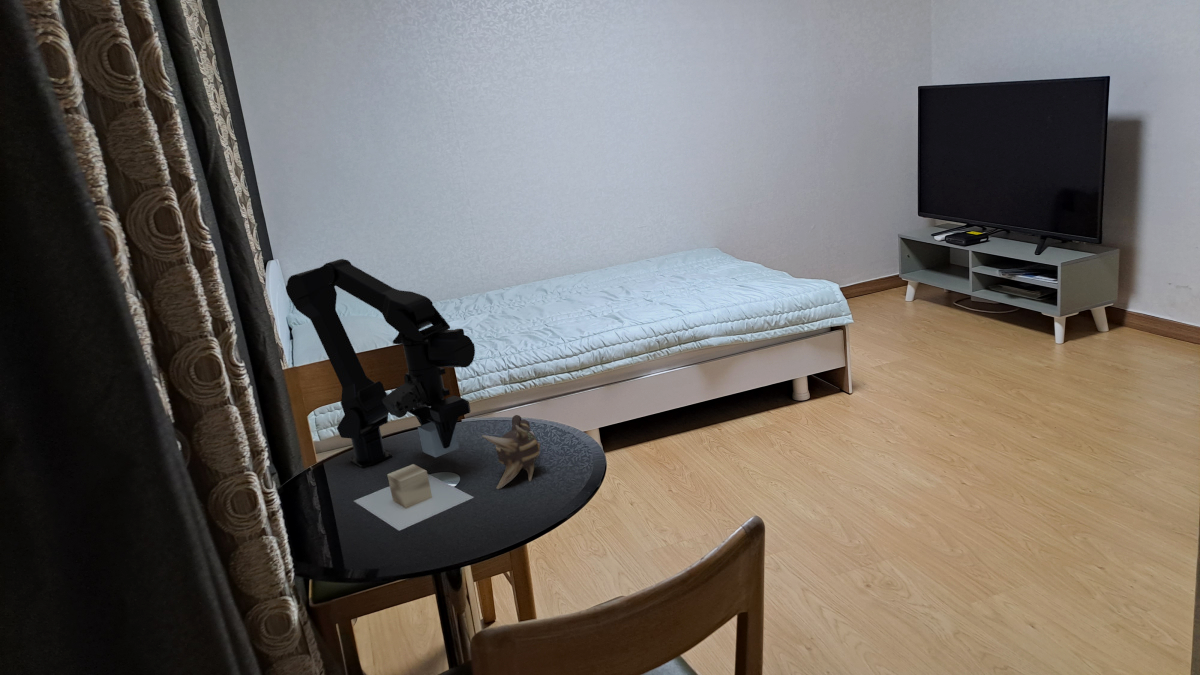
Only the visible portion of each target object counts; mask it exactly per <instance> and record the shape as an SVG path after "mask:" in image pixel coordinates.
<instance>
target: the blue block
mask: <svg viewBox="0 0 1200 675" xmlns="http://www.w3.org/2000/svg"><path fill="white" fill-rule="evenodd" d="M417 430H418V434H419V439H420V445H421V449H422V453H425V454H426V455H429V456H432V457H433V458H438V457H440V456H443V455H445V454H449V453H451V452H453V451H455V450H459V449H460V446H459V441H458V436H457V431H456V428H455V429H454V433H453V436H452V440H451V443H450V447H448V448H446V449H445V448H443V445H442V443H441V440H440V437H439V434H438V431H437V428H436V425H435V424H434V423H432V422H430V423H427V424H424V425H422V426H421V425H419V426H417Z"/></svg>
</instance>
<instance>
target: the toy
mask: <svg viewBox="0 0 1200 675" xmlns="http://www.w3.org/2000/svg"><path fill="white" fill-rule="evenodd" d="M511 423H512V424H511V430H509V431H507V432H506V433H504V434H503V435H502V436H501V437H497V436H491V435H481V437H482V438H484V439H485V440H487V441H488V442H490V443H491V444H493V445H495V451H496V453H497V454H496V456H497V457H498V462H499V463H500V464H502V465H503V466H504V467H505V470H504V472H503V474H502V476H501V478H500V480H499V482H498V484H497V485H496V489H497V490H500V489H502V488H503V487H504V486H506V485H507V484H509V483H510V482H511V481H512V480H514V479H515V477H516V476H517V475H518V474H519V473H520V471H521V470H523V471H526V473H527V479H528V482H531V481H532V478H533V475H534V470H535V461H536V460H537V458H538V457H539V456H540V453H541V452H540V451H541V443H540V442H539V441H538V439H537V437H536V435H535V433H534V431H532V430H531V426H530V425H531V424H530V422H529V421H528V420H526V419H522V417H521V416H520V415H518V414H516V415H514V416H512V418H511Z"/></svg>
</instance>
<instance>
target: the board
mask: <svg viewBox="0 0 1200 675" xmlns="http://www.w3.org/2000/svg"><path fill="white" fill-rule="evenodd" d="M427 475H428V480H429V484H430V489H431V494H432V498H430V499H427V500H425V501H423V502H420V503H418V504H416V505H413V506H411V507H409V508H404V507H403V506H401V505H399V504H398V503H396V502H394V501H393V498H392V494H391V489H390V485H389V486H387V487H384V488H382V489H379V490H376V491H374V492H373V493H369V494H367V495H365V496H362V497H360V498H357V499H355V500H353V502H354V503H356V504H357V505H358V506H360V507H362V508H364V509H365V510H367V511H368V512H369V513H371V514H373V515H374V516H376V517H377V518H379V519H380V520H381V521H384V522H385V523H386V524H388V525H389V526H391V527H392V528H394V529H396V530H397V531H399V532H400V531H402V530H404V529H406V528H409V527H411V526H413V525H416V524H418V523H420V522H423V521H425V520H427V519H430V518H431V517H433V516H436V515H438V514H440V513H442V512H445V511H447V510H449V509H451V508H454V507H456V506H458V505H461V504H462V503H463V504H464V503H465V502H467V501H469V500H471V499H474V496H472V495H471V494H468V493H466V492H464V491H462V490H460V489H458V488H457V487H454V486H452V485H451V484H448V483H446V482H445V481H443V480H442V479H441V480H440V479H438V478H437V477H435V476H432V475H431V474H429V473H427Z"/></svg>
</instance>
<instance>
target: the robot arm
mask: <svg viewBox="0 0 1200 675" xmlns="http://www.w3.org/2000/svg"><path fill="white" fill-rule="evenodd" d="M286 282H287V283H286V285H285V292H286V294H287V296H288V298H289V300H290V302H291V303H292V304H293V306H294V308H295V309H296V310H297V311H298V312H299V313H300V314H302V315H303V316H305V317H306V318H307V319H309V320H310V322H311V324H312V326H313V328H314V330H315V333H316V335H317V336H318V339H319V341H320V343H321V345H322V346H323V349H324V351H325V353H326V354H325V355H326V356H327V357H328V360H329V362H330V365H331V366H332V368H333V370H334V373H335V375H336V376H337V378H338V379H337V380H338V381H339V383H340V385H341V397H340V399H341V400H340V405H341V409H342V410H343V414H344V415H343V416H342V419H341V420H340V422H339V424H338V425H337V427H336V430H337V432H338V434H339V436H340V438H341V439H351V443H352V448H353V451H354V456H352V457H349V461H350V462H351V463H353V464H355V465H357V466H358V467H360V468H365V467H369V466H370V465H373V464H376V463H379V462H382V461H384V460H386V459H387V460H388V459H390V458H392V457H393V453H391V452H389V451H387V450H385V446H384V442H383V437H382V433H381V428H380V427H381V426H383V425H386V424H388V423H389V414H390V416H394V417H396V418H398V419H401V418H403V417H405V416H406V415H407V413H409V414H411V415H413V416H415V418H416V419H417V421H418V423H419V424H420V425H419V426H422V425H424V424H427V423H430V422H432V423H434V424H435V425H436V428H437V431H438V434H439V437H440V440H441V443H442V445H443V448H445V449H446V448H448V447H450V443H451V440H452V436H453V433H454V429H455V430H456V425H457V423H458V420H459V417H462V416H465V415H467V414H470V413H471V405H470V402H469V401H468V400H467V399H465V398H463V397H460V396H457V395H452V396H450V395H451V393H450V389H449V388H446V387H445V385H444V380H443V375H445V374H446V368H467V367H470V365H472V363H473V361H474V359H475V355H476V347H475V343H473V341H472V338H470V337H469V336H468V335H465V331H464V329H463V328H455V329H450V328H451V326H450V325H449V323H448V322H447V321H446V319H445V318H444V317H443V316H442V314H441V313H440V312H439V311H438V309H437V308H436V307H435V306H434V305H433V301H432V300H431V299H430V298H429V297H427V296H425V295H422V294H421V293H417V292H415V291H409V290H400V289H396V288H394V287H392V286H391V285H388V284H387V283H385V282H384V281H381V280H380V279H378V278H376V277H374V276H372V275H371V274H369V273H368V272H366V271H363V270H362V269H360V268H358V267H356V266H355V265H353V264H352V263H351V262H350V260H347V259H344V258H340V259H336V260H333V261H329V262H327V263H324V264H323V265H321V266H320V267H317V268H313V269H310V270H306V271H303V272H299V273H296V274H292V275H290V276H289V277H288V279H287V281H286ZM335 287H337V288H339V289H341V290H342V291H344V292H346V293H347V294H350V295H351V296H353V297H355V298H356V299H358V300H359V301H362V302H364V304H366V305H369V306H370V307H372V308H373V309H375V310H377V311H378V312H380V313H381V314H382V317H383V319H384V320H385V322H386V323H387V324H388V325H390V327H392V328H393V329H394V330H395V331H397V332H398V334H397V335H396V337H395V338H394V339H393V340H392V343H393V344H394V345H402V347H403V352H404V356H405V362H406V366H407V371H408V372H406V373H404V376H403V379H404V383H403V384H401V385H399V386H398V387H395V389H393V390H392V391H391V392H390V393H388V394H387V392H386V390H385V387H384V384H383V383H382V382H381V381H380V380H378V381H375V382H374V381H373V380H372V379H371V378H369V377H368V376H367V375H366V372H365V370H364V368H363V366H362V364H361V362H360V359H359V357H358V355H357V353H356V350H355V349H354V347H353V344H352V342H351V341H350V338H349V336H348V333H347V331H346V330H345V327H344V325H343V323H342V321H341V319H340V316H339V314H338V312H337V310H336V307H337V297H338V296H337V295H338V294H337V290H336V288H335ZM427 326H428V327H427ZM447 396H449V397H447ZM445 397H446V398H445Z"/></svg>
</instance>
